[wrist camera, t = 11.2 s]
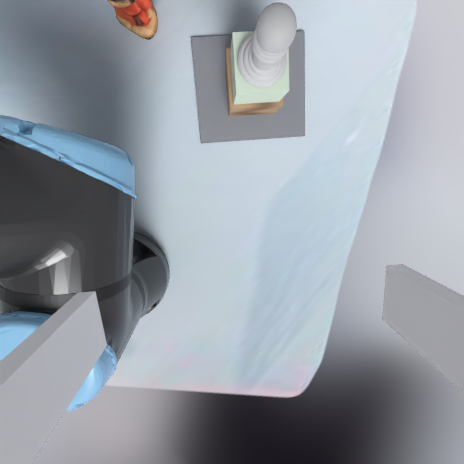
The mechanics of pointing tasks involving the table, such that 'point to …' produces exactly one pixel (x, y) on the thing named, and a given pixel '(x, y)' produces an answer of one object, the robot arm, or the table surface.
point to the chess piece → (268, 46)
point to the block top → (247, 92)
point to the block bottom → (245, 108)
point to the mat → (216, 102)
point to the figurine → (137, 16)
